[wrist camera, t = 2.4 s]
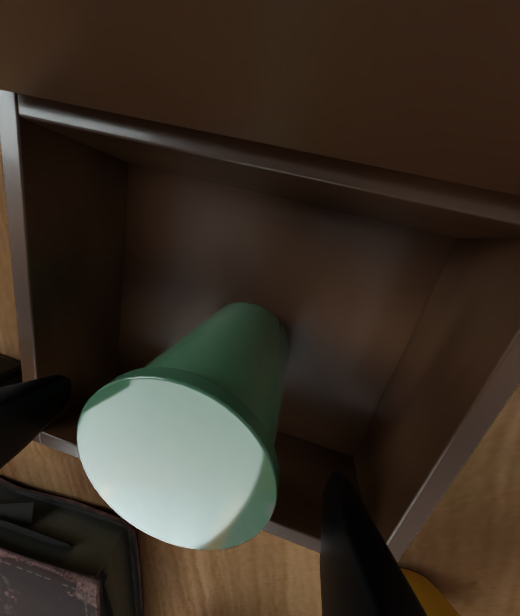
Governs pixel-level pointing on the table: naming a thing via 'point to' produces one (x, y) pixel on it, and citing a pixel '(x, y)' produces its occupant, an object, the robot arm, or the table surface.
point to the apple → (429, 595)
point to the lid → (292, 74)
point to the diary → (65, 558)
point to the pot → (194, 433)
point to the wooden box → (270, 293)
